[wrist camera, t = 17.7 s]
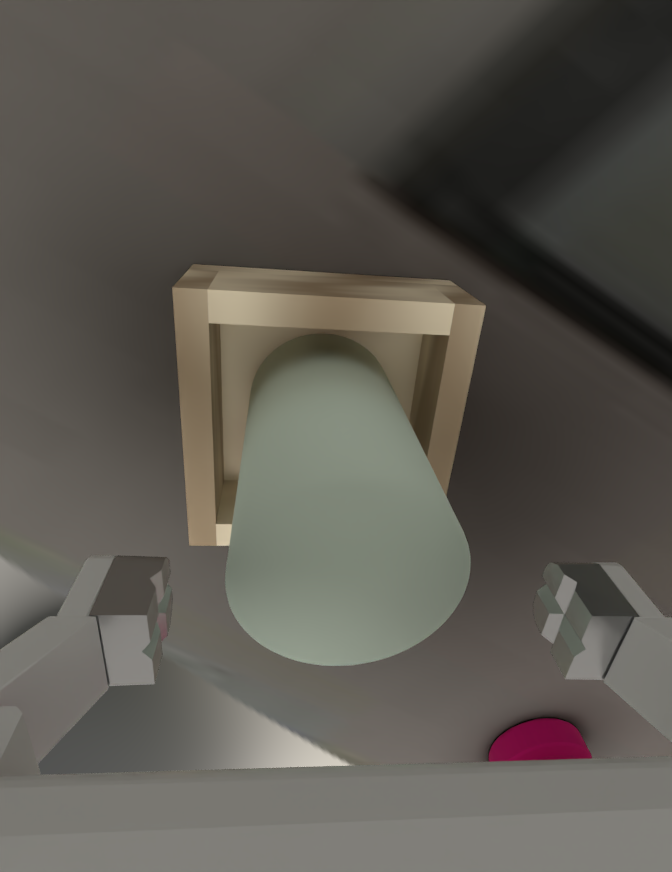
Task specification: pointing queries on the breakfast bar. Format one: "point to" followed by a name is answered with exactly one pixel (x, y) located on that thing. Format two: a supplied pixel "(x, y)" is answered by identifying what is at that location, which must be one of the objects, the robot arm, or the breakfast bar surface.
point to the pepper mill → (540, 742)
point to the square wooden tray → (297, 316)
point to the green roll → (338, 513)
